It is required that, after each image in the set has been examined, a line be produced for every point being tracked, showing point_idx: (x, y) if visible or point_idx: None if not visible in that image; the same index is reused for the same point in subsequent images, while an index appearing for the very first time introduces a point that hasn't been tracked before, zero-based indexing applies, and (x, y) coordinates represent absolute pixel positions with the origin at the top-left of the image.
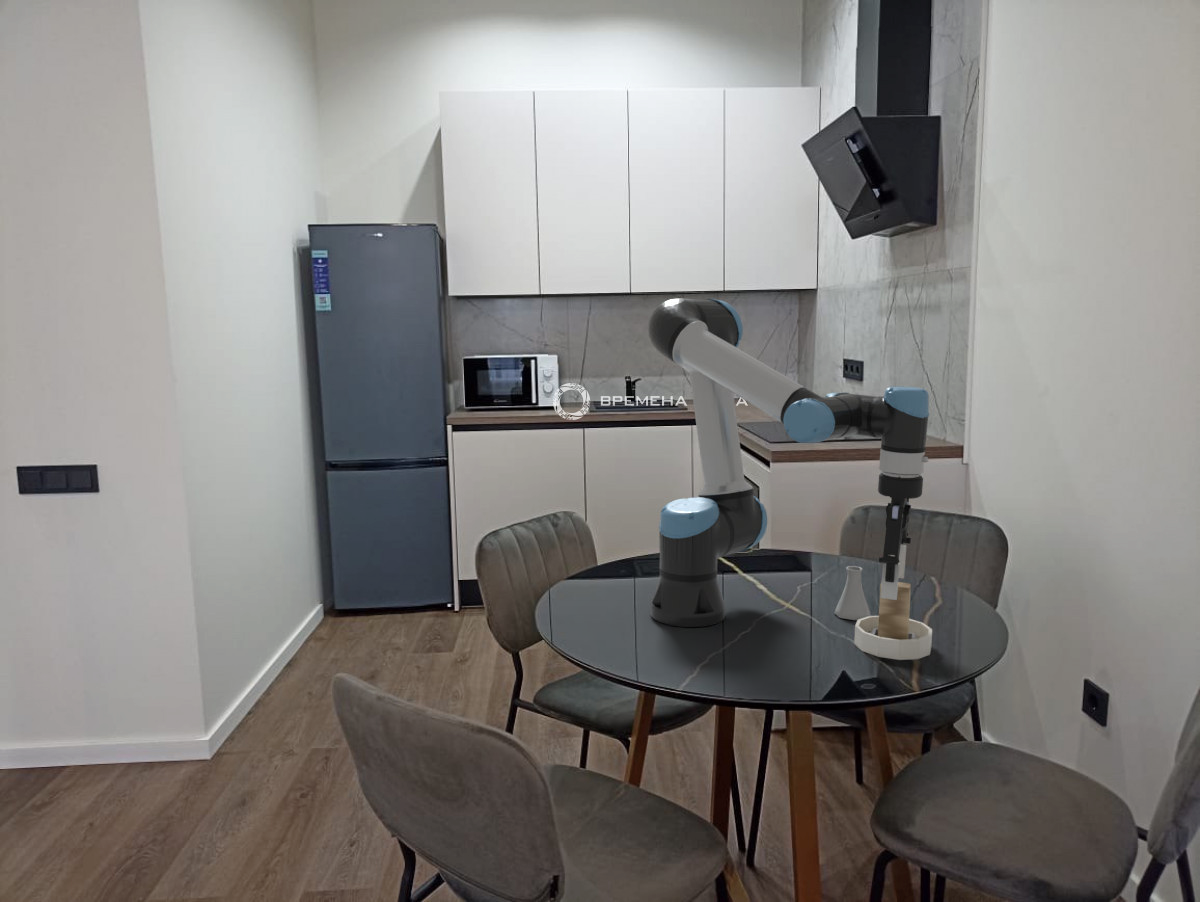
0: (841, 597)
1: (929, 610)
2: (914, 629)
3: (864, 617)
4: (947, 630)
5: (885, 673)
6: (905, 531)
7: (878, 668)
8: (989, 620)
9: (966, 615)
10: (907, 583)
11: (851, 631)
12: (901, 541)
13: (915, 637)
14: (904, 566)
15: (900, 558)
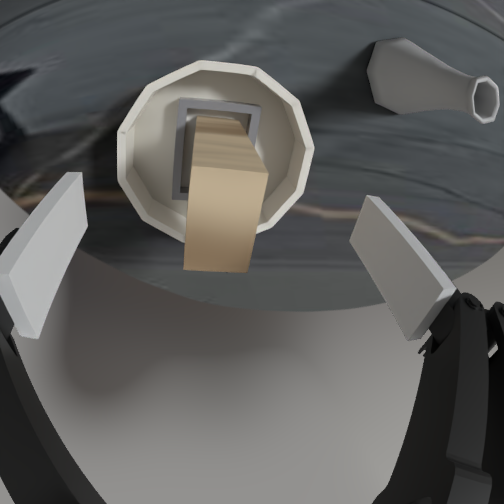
0: (425, 53)
1: (426, 225)
2: (273, 201)
3: (376, 96)
4: (333, 249)
5: (49, 147)
6: (412, 414)
7: (66, 130)
8: (379, 300)
9: None
10: (244, 263)
11: (292, 55)
12: (437, 331)
13: None
14: (367, 270)
15: (388, 278)
